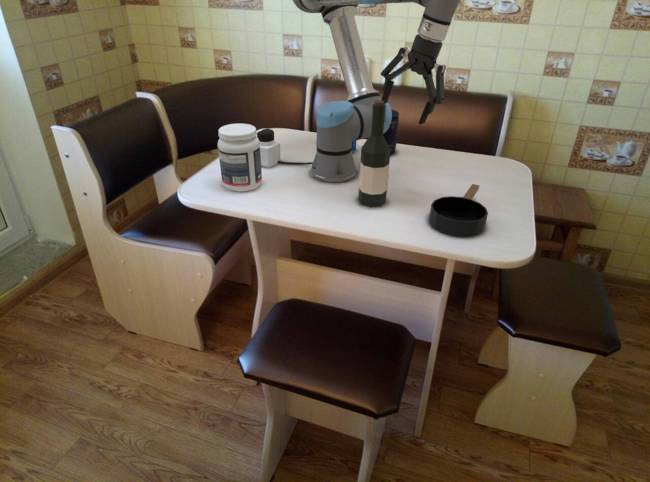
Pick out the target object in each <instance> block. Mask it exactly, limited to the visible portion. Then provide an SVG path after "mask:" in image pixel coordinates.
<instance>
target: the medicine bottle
mask: <svg viewBox="0 0 650 482" xmlns="http://www.w3.org/2000/svg"><path fill="white" fill-rule="evenodd" d="M256 132H257V135H256V137H257V138H258V139H259V142H260V155H261V167H264V168H268V169H270V168H271V167H273V166H275V165H277V164H279V163H278V161H281V160H282V159H281V143H280V142H277V141H275V131H274V129H271V128H268V127H267V128H260V129H257V130H256Z"/></svg>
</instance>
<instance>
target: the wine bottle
mask: <svg viewBox="0 0 650 482" xmlns="http://www.w3.org/2000/svg"><path fill="white" fill-rule="evenodd" d="M385 106H386V105H385V104H384V101H381V100H377V101H375V104H373V112H372V127H371V135H370V136H369V138H366V140H365V142H364V143H363V145H362V146H361V148H360V149H361V150H360V164H359V165H360V167H359V180H358V181H359V184H358V202H359V203H360V205H361V206H364V207H367V208H368V207H369V208H380V207H381V208H382V206H383V205H385V204H386V203H387V193H388V183H389V181H388V180H389V173H390V162H391V156H390V152H391V150H390V148H389V146H388V144H387V142H386V140H385V138H384V136H383V131H384V119H385Z"/></svg>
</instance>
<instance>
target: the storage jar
mask: <svg viewBox="0 0 650 482" xmlns="http://www.w3.org/2000/svg"><path fill="white" fill-rule="evenodd" d="M391 111H392V120H391V124H390V126H389V128H388V130H387V131H386V132H385V133H383V136H384V138H385V140H386V142H387V144H388V146H389V148H390V150H391V152H390V157H392V156H394V155H395V154H396V148H397V141H398V138H397V133H398V128H399V122H400V119H399V118H400V112H399V111H397V110H395V109H391Z"/></svg>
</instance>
